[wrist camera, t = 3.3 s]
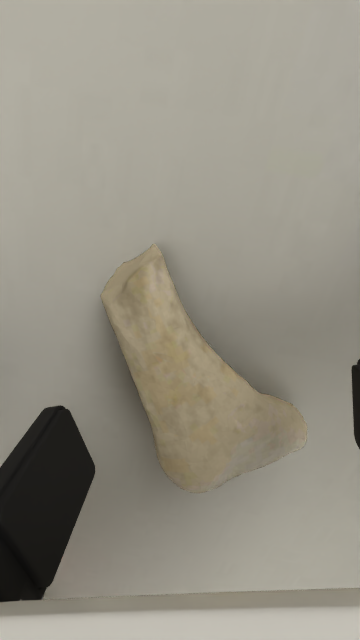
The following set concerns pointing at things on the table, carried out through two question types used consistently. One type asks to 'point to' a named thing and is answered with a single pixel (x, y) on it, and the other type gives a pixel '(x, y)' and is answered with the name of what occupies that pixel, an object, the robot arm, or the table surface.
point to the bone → (192, 385)
